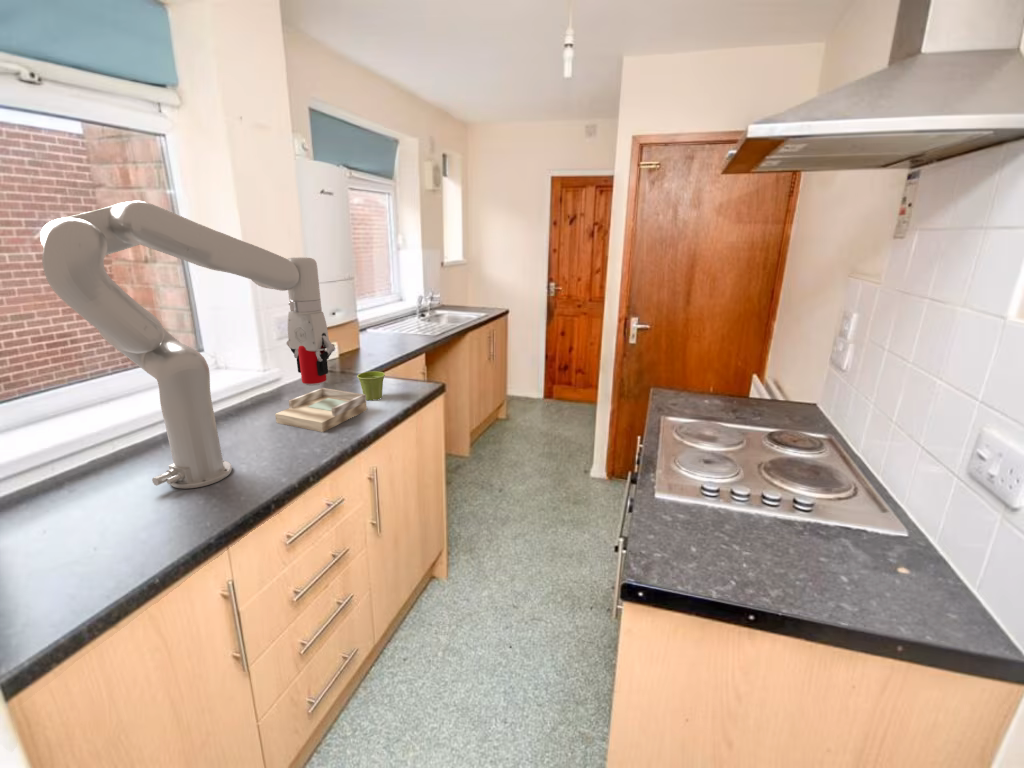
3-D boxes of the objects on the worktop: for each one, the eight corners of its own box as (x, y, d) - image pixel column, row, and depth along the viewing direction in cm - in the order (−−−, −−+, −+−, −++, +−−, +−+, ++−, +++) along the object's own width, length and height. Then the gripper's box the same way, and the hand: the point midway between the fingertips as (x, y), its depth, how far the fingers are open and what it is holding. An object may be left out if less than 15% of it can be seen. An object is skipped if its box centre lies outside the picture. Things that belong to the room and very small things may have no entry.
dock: (322, 432, 138) (320, 414, 137) (276, 422, 145) (274, 406, 143) (366, 410, 156) (365, 394, 155) (323, 402, 163) (322, 387, 161)
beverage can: (330, 380, 132) (326, 338, 128) (319, 387, 126) (315, 342, 123) (309, 379, 133) (304, 337, 129) (297, 386, 127) (292, 342, 123)
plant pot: (353, 400, 165) (351, 377, 162) (369, 392, 174) (367, 370, 171) (377, 403, 162) (375, 379, 160) (391, 395, 171) (390, 372, 169)
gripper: (269, 306, 123) (278, 372, 128) (321, 310, 117) (328, 380, 122) (292, 302, 130) (299, 366, 135) (342, 307, 123) (348, 373, 129)
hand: (313, 372), depth 128 cm, fingers closed on beverage can, 6 cm apart
